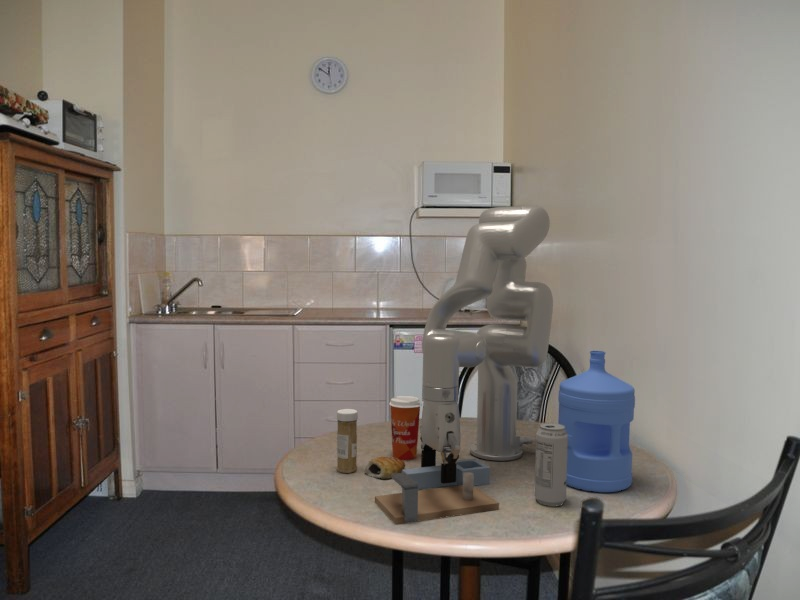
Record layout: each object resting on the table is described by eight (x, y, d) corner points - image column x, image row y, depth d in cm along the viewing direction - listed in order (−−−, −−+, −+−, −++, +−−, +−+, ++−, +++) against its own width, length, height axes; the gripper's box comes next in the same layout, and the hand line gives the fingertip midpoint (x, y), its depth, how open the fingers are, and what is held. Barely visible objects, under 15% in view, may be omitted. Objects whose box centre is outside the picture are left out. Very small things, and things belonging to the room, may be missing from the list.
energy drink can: (571, 505, 123) (574, 429, 122) (543, 508, 121) (546, 430, 120) (555, 494, 129) (557, 421, 128) (528, 497, 127) (530, 423, 126)
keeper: (403, 507, 120) (404, 472, 120) (417, 521, 114) (418, 483, 114) (391, 509, 120) (391, 473, 119) (404, 523, 113) (405, 485, 113)
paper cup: (383, 459, 150) (384, 400, 149) (395, 450, 157) (396, 394, 156) (414, 463, 147) (415, 403, 146) (425, 454, 154) (426, 397, 154)
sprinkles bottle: (360, 471, 141) (361, 411, 140) (342, 475, 139) (343, 413, 138) (350, 465, 145) (351, 407, 144) (332, 469, 142) (333, 409, 142)
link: (474, 474, 140) (475, 458, 140) (489, 483, 134) (490, 467, 134) (398, 483, 134) (398, 467, 134) (410, 494, 128) (411, 477, 127)
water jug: (541, 473, 142) (545, 348, 140) (599, 466, 147) (603, 345, 146) (585, 497, 127) (590, 358, 126) (648, 489, 133) (653, 355, 131)
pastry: (389, 465, 146) (390, 448, 146) (412, 471, 142) (413, 455, 142) (362, 475, 139) (362, 458, 139) (385, 482, 135) (385, 464, 135)
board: (471, 489, 131) (471, 460, 130) (498, 509, 121) (499, 477, 120) (374, 502, 123) (375, 471, 123) (395, 524, 113) (395, 491, 112)
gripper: (476, 401, 126) (473, 486, 126) (438, 385, 142) (436, 461, 143) (441, 403, 123) (439, 490, 124) (407, 387, 139) (405, 464, 140)
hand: (437, 475), depth 133 cm, fingers open, 9 cm apart
